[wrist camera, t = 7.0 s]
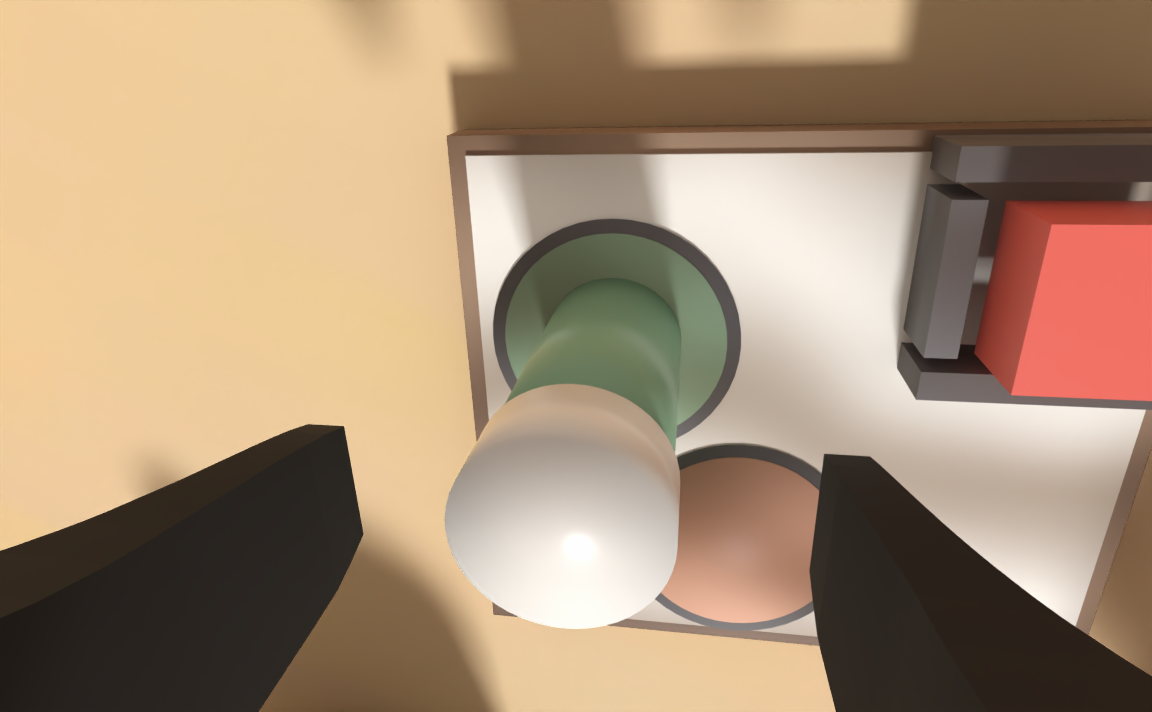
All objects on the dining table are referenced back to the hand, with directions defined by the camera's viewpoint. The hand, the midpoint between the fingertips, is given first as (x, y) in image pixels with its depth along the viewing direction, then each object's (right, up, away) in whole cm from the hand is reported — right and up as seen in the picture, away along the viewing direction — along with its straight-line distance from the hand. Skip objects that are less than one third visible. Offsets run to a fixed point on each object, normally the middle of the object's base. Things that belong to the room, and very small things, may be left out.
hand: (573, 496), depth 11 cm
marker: (+1, +2, +5) cm, 6 cm away
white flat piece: (+5, +1, +7) cm, 8 cm away
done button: (+9, +3, +2) cm, 10 cm away
